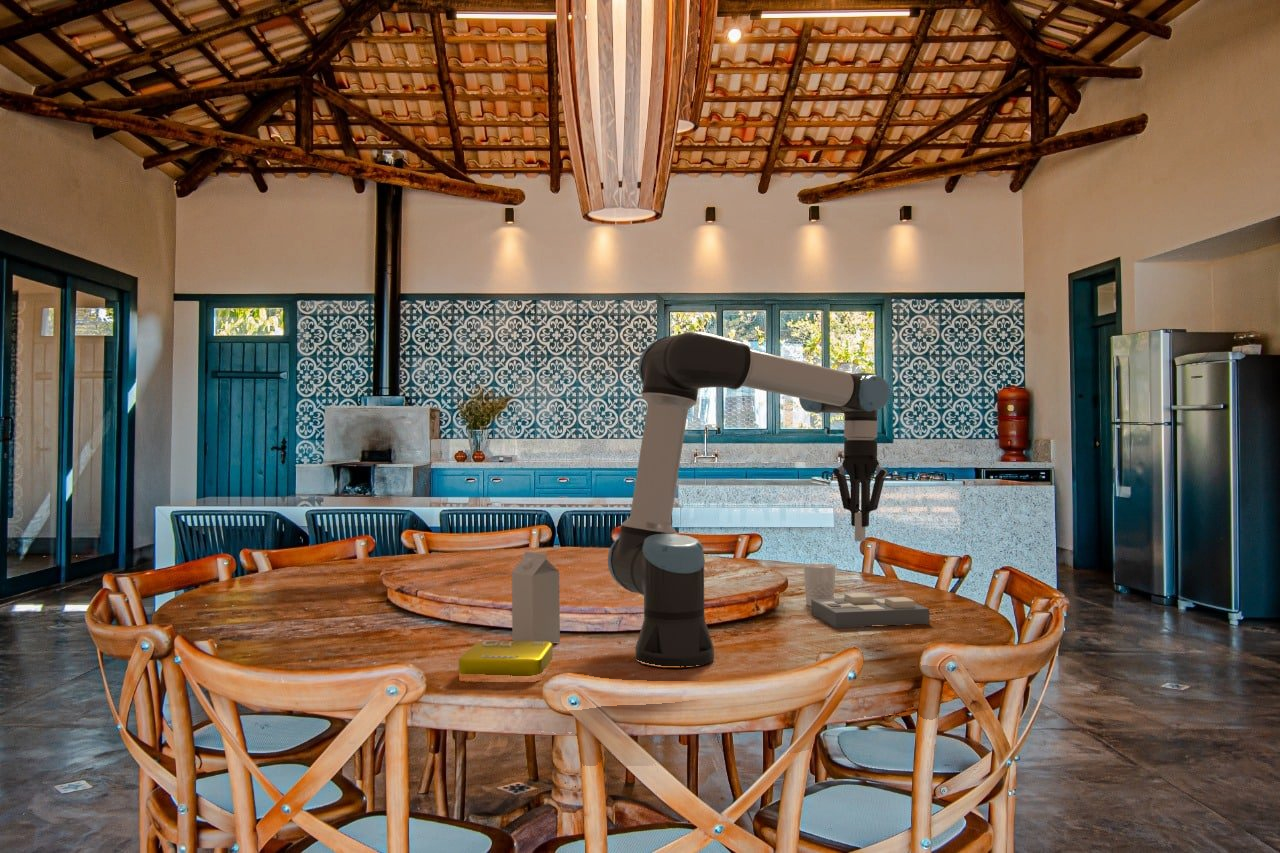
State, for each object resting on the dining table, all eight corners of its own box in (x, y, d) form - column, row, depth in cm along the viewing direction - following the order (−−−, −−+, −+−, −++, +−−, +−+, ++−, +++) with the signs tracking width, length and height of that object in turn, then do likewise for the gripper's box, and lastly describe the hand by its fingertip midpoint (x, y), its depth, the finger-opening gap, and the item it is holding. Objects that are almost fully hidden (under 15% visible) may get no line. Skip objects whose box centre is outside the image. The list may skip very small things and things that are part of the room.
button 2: (864, 620, 199) (864, 609, 199) (855, 615, 204) (855, 605, 204) (885, 619, 200) (885, 608, 200) (876, 615, 205) (876, 604, 205)
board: (835, 628, 196) (835, 610, 196) (811, 614, 212) (811, 597, 212) (929, 624, 200) (929, 606, 200) (898, 610, 215) (898, 594, 215)
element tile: (455, 684, 156) (455, 657, 156) (477, 663, 171) (477, 638, 171) (539, 685, 155) (539, 657, 155) (554, 663, 170) (554, 638, 170)
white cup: (838, 607, 220) (838, 567, 220) (806, 608, 220) (806, 567, 220) (832, 601, 228) (831, 562, 228) (801, 602, 228) (801, 563, 228)
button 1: (852, 607, 206) (852, 597, 206) (844, 603, 211) (844, 593, 211) (872, 606, 207) (872, 596, 207) (864, 602, 212) (864, 592, 212)
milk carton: (539, 638, 190) (538, 549, 190) (560, 643, 185) (559, 552, 185) (512, 644, 185) (511, 552, 185) (533, 649, 180) (532, 555, 180)
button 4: (893, 612, 200) (893, 601, 200) (884, 608, 205) (884, 597, 205) (914, 611, 201) (914, 600, 201) (905, 607, 206) (904, 596, 206)
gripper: (893, 439, 206) (893, 541, 206) (841, 439, 214) (840, 537, 213) (881, 439, 200) (880, 544, 200) (827, 439, 208) (827, 539, 207)
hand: (859, 540), depth 206 cm, fingers closed
